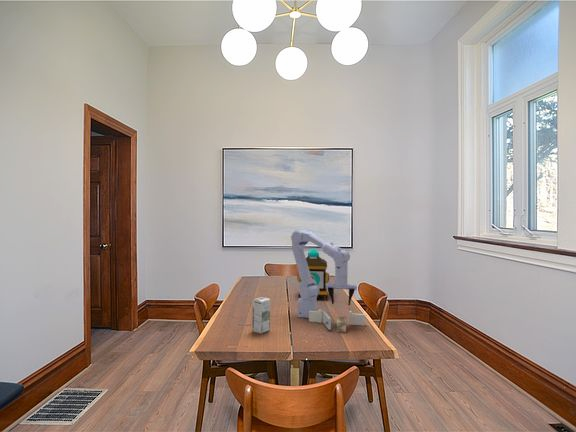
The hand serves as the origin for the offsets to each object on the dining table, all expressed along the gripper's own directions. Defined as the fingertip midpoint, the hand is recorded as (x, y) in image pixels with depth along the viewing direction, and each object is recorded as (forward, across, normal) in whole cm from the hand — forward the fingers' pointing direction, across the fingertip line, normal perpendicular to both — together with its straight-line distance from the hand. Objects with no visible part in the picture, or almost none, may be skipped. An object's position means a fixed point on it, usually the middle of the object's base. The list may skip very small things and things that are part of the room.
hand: (341, 304), depth 161 cm
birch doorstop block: (+10, +1, -7) cm, 12 cm away
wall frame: (+9, -2, 0) cm, 10 cm away
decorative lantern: (+10, -20, +46) cm, 52 cm away
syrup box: (+10, -34, -18) cm, 40 cm away
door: (+9, -7, -6) cm, 13 cm away
